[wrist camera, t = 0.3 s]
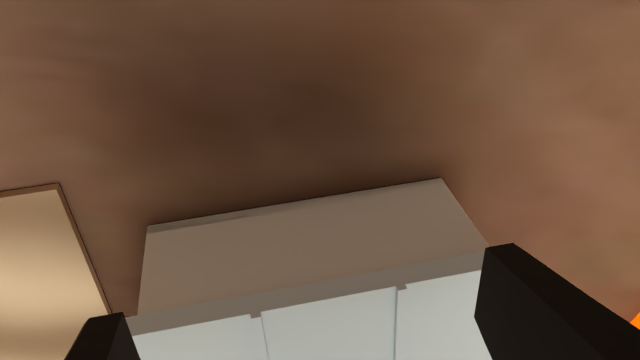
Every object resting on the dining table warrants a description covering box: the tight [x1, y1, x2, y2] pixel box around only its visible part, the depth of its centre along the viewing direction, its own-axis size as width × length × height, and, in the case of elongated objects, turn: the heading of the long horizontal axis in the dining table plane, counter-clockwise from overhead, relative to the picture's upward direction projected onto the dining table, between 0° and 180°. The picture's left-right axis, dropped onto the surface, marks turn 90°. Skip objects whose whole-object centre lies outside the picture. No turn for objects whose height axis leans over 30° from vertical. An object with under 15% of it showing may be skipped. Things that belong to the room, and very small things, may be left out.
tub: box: [137, 178, 489, 315], centre depth 22 cm, size 12×9×5 cm
